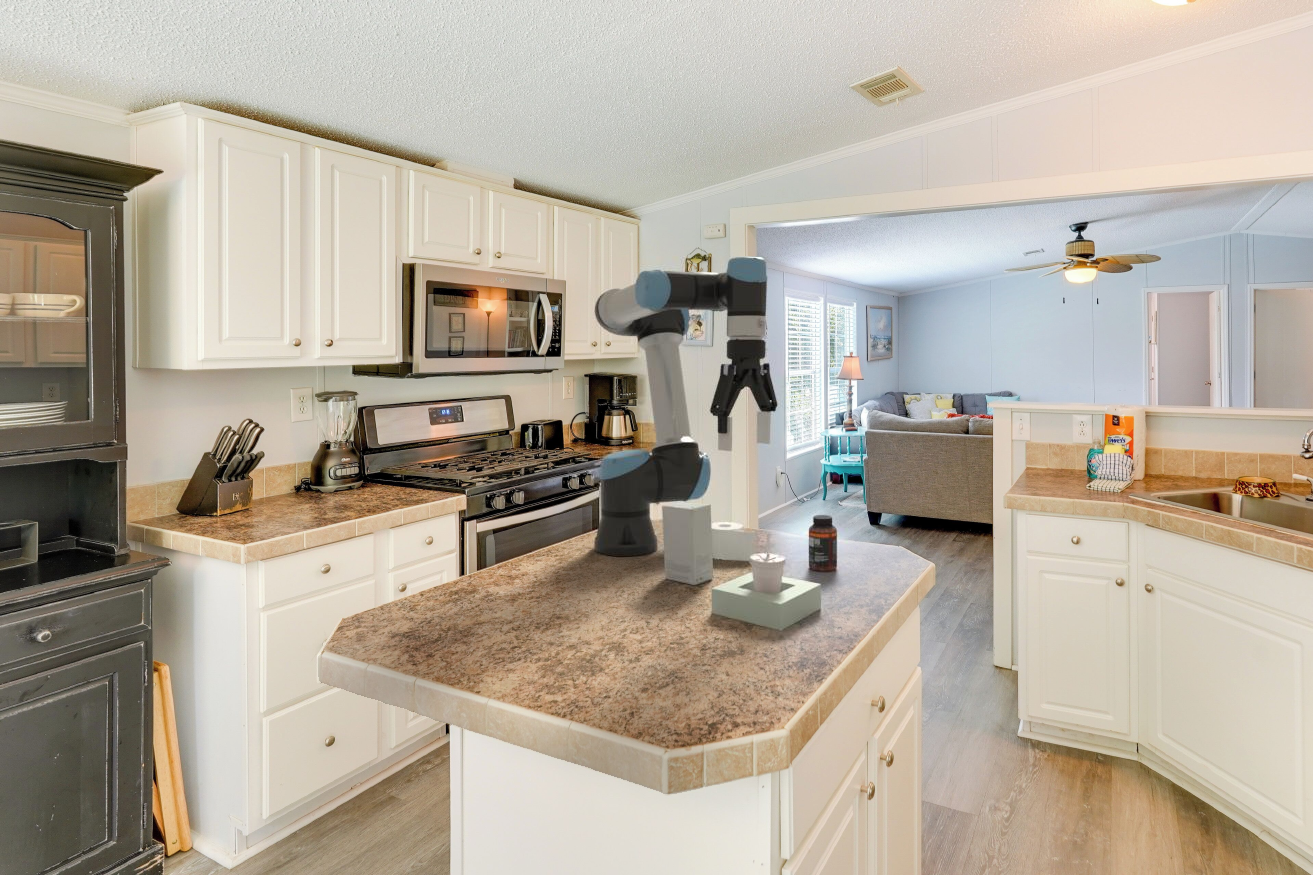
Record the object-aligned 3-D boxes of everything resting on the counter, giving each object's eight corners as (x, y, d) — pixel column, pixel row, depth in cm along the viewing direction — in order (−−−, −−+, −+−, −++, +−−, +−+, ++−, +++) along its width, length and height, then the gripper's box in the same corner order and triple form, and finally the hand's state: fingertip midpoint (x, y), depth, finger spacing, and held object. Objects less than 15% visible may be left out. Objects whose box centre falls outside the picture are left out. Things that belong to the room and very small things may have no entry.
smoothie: (788, 606, 135) (788, 530, 133) (782, 618, 129) (782, 538, 127) (753, 603, 137) (753, 528, 135) (745, 614, 131) (746, 536, 129)
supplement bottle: (834, 564, 162) (835, 513, 161) (838, 572, 156) (839, 519, 155) (807, 564, 163) (807, 513, 161) (809, 572, 157) (810, 519, 156)
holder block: (711, 613, 132) (711, 588, 131) (754, 593, 142) (754, 570, 142) (780, 630, 123) (781, 603, 122) (820, 608, 133) (821, 584, 133)
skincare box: (713, 579, 152) (713, 504, 150) (693, 586, 147) (692, 509, 146) (683, 572, 158) (682, 499, 156) (661, 578, 153) (661, 504, 151)
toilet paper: (755, 561, 166) (755, 530, 165) (705, 559, 168) (705, 529, 167) (757, 551, 174) (757, 522, 173) (709, 550, 176) (709, 521, 175)
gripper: (725, 338, 133) (723, 455, 136) (795, 339, 152) (793, 442, 155) (691, 338, 138) (691, 451, 140) (764, 339, 157) (762, 439, 159)
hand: (744, 446), depth 147 cm, fingers open, 13 cm apart
